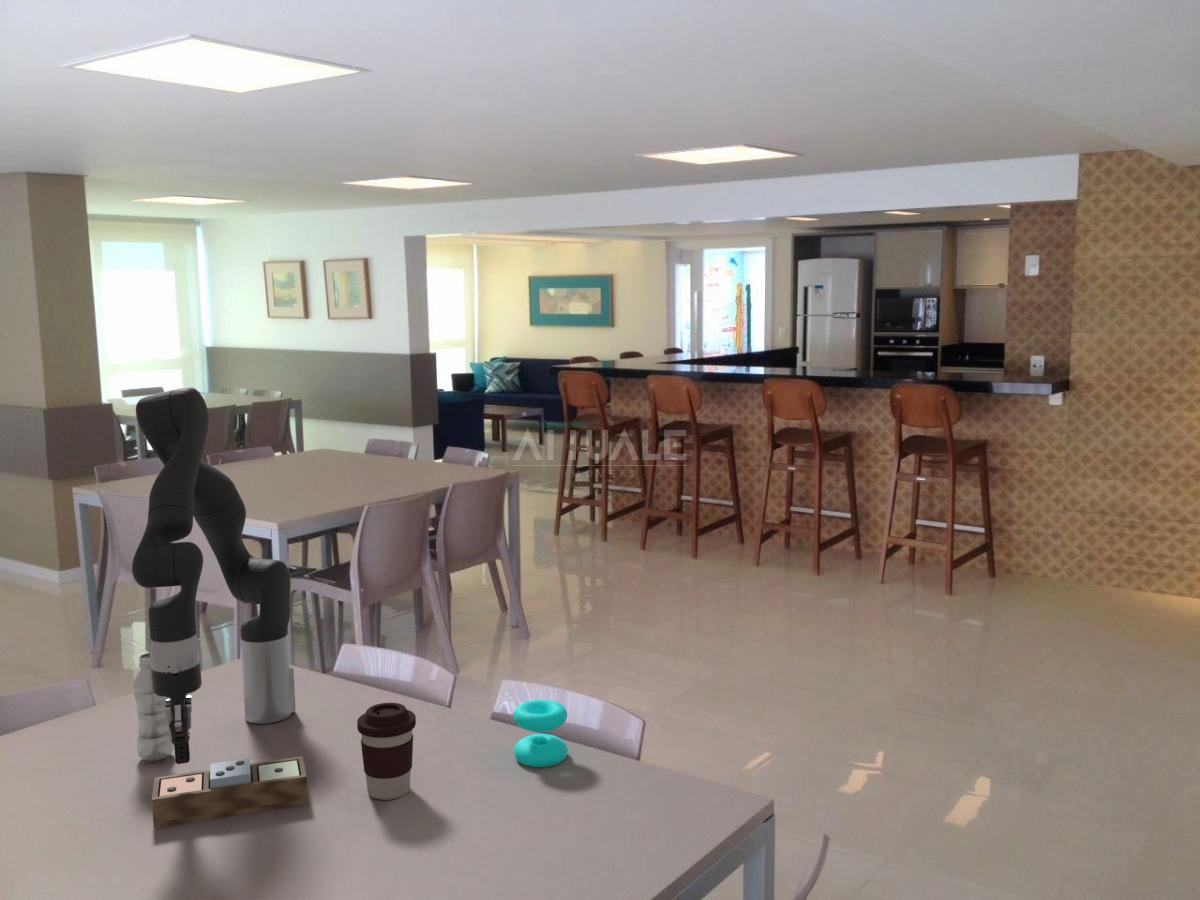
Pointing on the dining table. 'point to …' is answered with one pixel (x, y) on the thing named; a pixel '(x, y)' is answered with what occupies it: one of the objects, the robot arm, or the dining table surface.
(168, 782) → the button two
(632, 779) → the dining table surface
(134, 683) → the plastic bottle
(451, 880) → the dining table surface
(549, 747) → the donuts
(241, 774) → the button three
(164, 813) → the dice tray set
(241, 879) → the dining table surface
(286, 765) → the button one
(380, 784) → the coffee cup
